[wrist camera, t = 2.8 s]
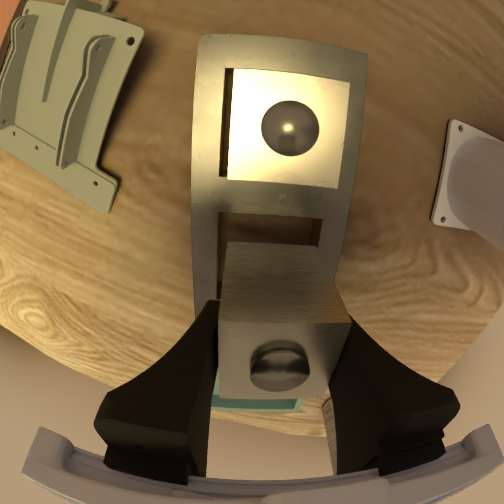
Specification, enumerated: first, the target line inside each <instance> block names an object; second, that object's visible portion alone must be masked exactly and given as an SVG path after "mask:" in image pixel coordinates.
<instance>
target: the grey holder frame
mask: <svg viewBox="0 0 504 504" xmlns="http://www.w3.org/2000/svg"><path fill="white" fill-rule="evenodd" d="M367 57H368V54H366V53H362V52H359V51H355V50H351V49H346V48H342V47H337V46H333V45H328V44H322V43H317V42H311V41H304V40H298V39H290V38H281V37H272V36H259V35H240V34H201V35H199V41H198V52H197V63H196V76H195V91H194V108H193V130H192V165H191V229H192V266H193V289H194V307H195V320H196V318H197V317H198V315H199V314H200V312H201V311H202V309H203V307H204V306H205V304H206V302H207V301H208V300H220V299H221V290H222V283H219V265H220V220H221V212H233V213H250V214H266V215H280V216H293V217H306V218H314V224H313V230H312V236H311V242H310V246H316V247H317V249H318V251H319V253H320V255H321V257H322V259H323V261H324V263H325V265H326V267H327V269H328V271H329V273H330V276H331V278H332V280H333V282H334V279H335V274H336V270H337V266H338V262H339V257H340V253H341V248H342V244H343V239H344V234H345V229H346V224H347V219H348V214H349V209H350V203H351V198H352V192H353V186H354V180H355V174H356V167H357V160H358V153H359V146H360V138H361V130H362V121H363V112H364V101H365V89H366V75H367ZM234 69H253V70H266V71H277V72H287V73H295V74H302V75H309V76H316V77H322V78H327V79H333V80H338V81H343V82H348V83H350V86H349V98H348V109H347V119H346V128H345V137H344V145H343V153H342V160H341V168H340V175H339V181H338V188H337V189H336V188H328V187H319V186H309V185H299V184H288V183H277V182H264V181H249V180H232V179H228V170H222V165H223V145H224V126H225V110H226V94H227V80H228V73H234Z"/></svg>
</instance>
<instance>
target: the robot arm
mask: <svg viewBox="0 0 504 504" xmlns="http://www.w3.org/2000/svg"><path fill="white" fill-rule="evenodd" d="M459 126H460V130H459V128H458V127H459ZM442 217H443V219H442V220H441V218H442ZM431 221H432V222H433V223H434V224H435V225H440V226H447V227H453V228H459V229H465V230H471V231H474V232H475V233H477V234H478V235H480V236H481V237H482V238H484V239H485V240H486V241H488V242H489V243H490V244H492V245H493V246H494V247H495V248H497V249H498V250H499V251H501V252H502V253H503V254H504V142H502V141H500V140H498V139H496V138H494V137H492V136H490V135H488V134H486V133H484V132H482V131H480V130H478V129H476V128H474V127H472V126H470V125H467V124H465V123H463V122H461V121H458V120H455V119H451V120H450V121H449V124H448V133H447V140H446V147H445V154H444V160H443V166H442V171H441V176H440V181H439V186H438V191H437V195H436V199H435V204H434V208H433V212H432V216H431ZM219 308H220V300H208V301H207V302H206V304H205V306H204V307H203V309H202V311H201V312H200V314H199V315H198V317H197V318H196V320H195V321H194V322H193V324H192V325H191V326H190V328H189V329H188V330H187V331H186V333H185V334H184V335H183V336H182V337H181V338H180V340H179V341H178V342H177V343H176V344H175V345H174V346H173V347H172V348H171V349H170V350H169V351H168V352H167V353H166V354H165V355H164V356H163V357H162V358H160V359H159V360H158V361H157V362H156V363H155V364H153V365H152V366H151V367H150V368H148V369H147V370H145V371H144V372H143V373H141V374H140V375H138V376H137V377H135V378H134V379H132V380H130V381H129V382H127V383H125V384H123V385H122V386H120V387H118V388H116V389H114V390H112V391H110V392H108V393H107V394H106V396H105V398H104V400H103V402H102V403H101V405H100V407H99V410H98V412H97V415H96V418H95V420H94V427H95V429H96V431H97V433H98V434H99V435H100V436H101V438H102V439H103V440H104V442H105V443H106V444H107V445H108V447H107V450H106V453H105V457H104V456H100V455H97V454H94V453H91V452H88V451H86V450H83V449H80V448H77V447H74V445H73V444H72V443H71V442H70V441H69V440H68V439H67V438H65V437H64V436H62V435H60V434H58V433H55V432H53V431H51V430H48V429H46V428H44V427H39V429H38V431H37V434H36V436H35V438H34V441H33V443H32V446H31V448H30V450H29V453H28V455H27V458H26V461H25V463H24V466H23V469H22V472H21V473H22V474H23V475H24V476H25V477H27V478H28V479H29V480H31V481H33V482H34V483H36V484H37V485H39V486H40V487H42V488H44V489H45V490H47V491H49V492H50V493H52V494H54V495H56V496H58V497H60V498H62V499H64V500H66V501H68V502H71V503H73V504H435V503H438V502H440V501H442V500H444V499H446V498H448V497H450V496H452V495H454V494H456V493H458V492H460V491H462V490H464V489H466V488H467V487H469V486H471V485H473V484H474V483H476V482H478V481H479V480H481V479H482V478H484V477H485V476H487V475H488V474H489V473H491V472H492V471H494V470H495V469H497V468H498V467H499V466H501V465H502V464H503V463H504V457H503V455H502V452H501V450H500V447H499V445H498V442H497V440H496V438H495V436H494V433H493V431H492V429H491V427H490V425H489V424H486V425H484V426H482V427H480V428H478V429H476V430H474V431H472V432H471V433H469V434H468V435H467V436H466V437H465V438H464V439H463V440H462V441H460V442H458V443H455V444H453V445H450V446H447V447H444V444H443V442H442V438H443V437H444V432H443V428H445V427H446V426H447V424H448V423H449V422H450V421H451V420H452V419H453V418H454V417H455V416H456V415H457V413H458V412H459V409H460V403H459V401H458V399H457V397H456V395H455V393H454V391H453V390H452V389H450V388H447V387H445V386H442V385H440V384H438V383H435V382H433V381H431V380H429V379H427V378H425V377H423V376H421V375H420V374H418V373H416V372H415V371H413V370H411V369H410V368H408V367H407V366H405V365H404V364H402V363H401V362H399V361H398V360H397V359H395V358H394V357H393V356H392V355H390V354H389V353H388V352H387V351H385V350H384V349H383V348H382V347H381V346H380V345H379V344H378V343H376V342H375V341H374V340H373V339H372V338H371V337H370V336H369V335H368V334H367V333H366V332H365V331H364V330H363V329H362V328H361V327H360V326H359V325H358V323H357V322H356V321H355V320H354V319H353V318H352V317H351V316H350V315H349V316H350V319H351V321H352V325H351V327H350V330H349V333H348V336H347V338H346V341H345V344H344V347H343V349H342V352H341V354H340V357H339V359H338V362H337V364H336V367H335V369H334V372H333V374H332V377H331V379H330V381H329V384H328V386H329V390H330V394H331V398H332V403H333V411H334V419H335V430H336V447H337V475H334V476H327V477H319V478H308V479H294V480H265V481H264V480H262V481H261V480H258V481H257V480H256V481H255V480H230V479H216V478H206V467H207V449H208V436H209V423H210V412H211V402H212V396H213V391H214V386H215V381H216V376H217V371H218V367H219V357H218V316H219ZM220 498H225V499H220Z"/></svg>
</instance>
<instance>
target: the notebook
mask: <svg viewBox="0 0 504 504" xmlns="http://www.w3.org/2000/svg"><path fill="white" fill-rule="evenodd" d="M26 2H27V0H0V69H1V66H2V63H3V60H4V56H5V53H6V50H7V48H8V45H9V42H10V39H11V26H12V23H13V22H14V20H15V19H16V18H18V17H20V15H21V13H22V10H23V8H24V6H25V4H26ZM0 73H1V71H0Z"/></svg>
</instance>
